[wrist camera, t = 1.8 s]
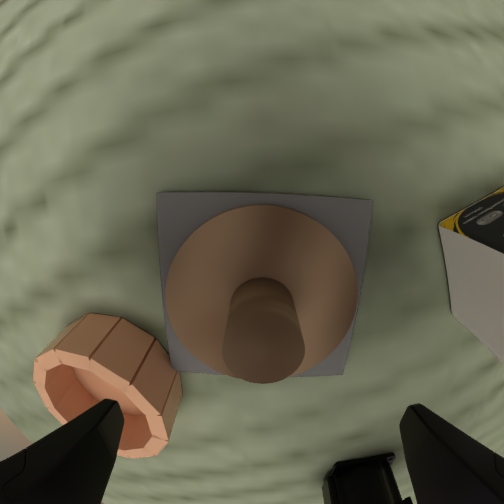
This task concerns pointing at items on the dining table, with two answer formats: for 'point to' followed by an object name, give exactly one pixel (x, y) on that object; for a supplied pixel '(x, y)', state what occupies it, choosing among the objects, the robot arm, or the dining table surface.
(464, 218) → the white boxy piece
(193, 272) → the lid
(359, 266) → the mat
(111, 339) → the bowl
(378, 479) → the robot arm
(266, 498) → the dining table surface
